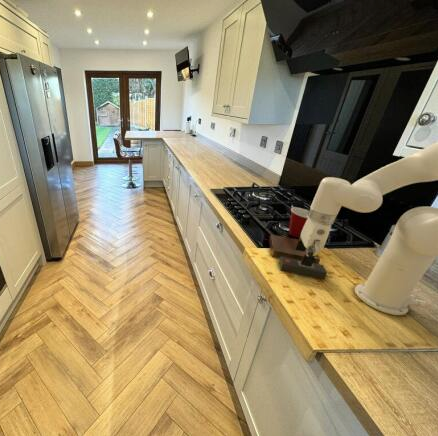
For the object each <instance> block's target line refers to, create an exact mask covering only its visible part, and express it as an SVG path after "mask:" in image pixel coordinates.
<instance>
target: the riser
mask: <svg viewBox="0 0 438 436" xmlns="http://www.w3.org/2000/svg"><path fill="white" fill-rule="evenodd" d="M298 241H299V238H298V239H297V238H294V237H293V238H292V237H287V236H281V235H277V234H276V235H275V234H270V235H269V237H268V245H269V249H270V253H271V257H273V258H277V259H280V257H286V258H291V259H296V260H301V261H302V259H303V257H304V254H305V255H306V250H307V248H306V250H305V251H304V252H303V251H299V250H296V249H295V248H296V246H297V243H298ZM310 247H311V248H314V247H312V246H310ZM313 251H314V250H310V251H309V253H310V252H313ZM320 262H321V258H320V256H319V255H318V256H317V257H316V258H315V260H314V262H313V263H315V264H320Z"/></svg>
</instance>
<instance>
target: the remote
mask: <svg viewBox="0 0 438 436" xmlns="http://www.w3.org/2000/svg"><path fill="white" fill-rule="evenodd" d="M278 265H279V270H280V271H282V272H286V273H291V274H295V275H300V276H305V277H310V278H313V279H318V280H324V281H325V278H326V277H327V275H328V272H327V270H326V268H325V266H324V264H320V263H319V264H315V263H313V264H312V266H311V267H309V266H304V265H301V260H296V259H291V258H286V257H280V258H279V260H278Z"/></svg>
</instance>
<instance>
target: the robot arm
mask: <svg viewBox="0 0 438 436" xmlns="http://www.w3.org/2000/svg"><path fill="white" fill-rule="evenodd" d="M435 181H438V141H436V142H433V143H432V144H430V145H427V146H426V147H424V148H422V149H420V150H418V151H416V152H414V153H412V154H409V155H407V156H404V157H402V158H401V159H398V160H397V161H394V162H391V163H389V164H387V165H385V166H382V167H380V168H379V169H377V170H375V171H372V172H371V173H369V174H367V175H365V176H363V177H362V178H360V179H357V180H356V181H354V182H353V183H350V182H349V180H346V179H343V178H340V177H334V176H327V177H323V178H322V180H321V181H320V183H319V185H318V187H317V190H316V193H315V195H314V197H313V200H312V203H311V205H310V207H309V209H308V211H309V212H308V214H307V218H308V219H307V221H306V223H305V225H304V227H303V229H302V232H301V237H298V240H299V241H298V243H297V246H296V248H295V249H296V250H299V251H303V252H304V251H305V250H306V248H307V250H306V255H305V254H304V257H303V259H302V261H301V265H304V266H309V267H311V266H312V264H313V262H314V260H315V258H316V257H317V256H319V255H320V253H321V252H322V251H323V250H324V248H325V245H326V243H327V240H328V238H329V235H330V232H331V229H332V225H334V223H335V220H336V219H337V216H338V214H339V212H340V211H341V208H342V207H343V208H346V209H349V210H351V211H354V212H357V213H372V212H375V211H376V210H378V209H379V208H380V207H381V206H382V205H383V201H384V200H383V196H384V195H386V194H388V193H391V192H393V191H395V190H397V189H400V188H403V187H405V186H409V185H412V184H413V185H414V184H417V183H428V182H435ZM310 246H312V247H314V248H311V247H310ZM310 250H314V251H313V252H310V253H309V251H310ZM436 258H438V207H434V206H423V205H422V206H416V207H414V208H411V209H408V210H406V211H405V212H404V213H403V214H402V215H401V216H400V217H399V219H398V220H397V222H396V224H395V227H394V230H393V231H392V234H391V236H390V238H389V240H388V242H387V244H386V246H385V248H384V249H383V251H382V253H381V254H380V257H379V259H378V260H377V262H376V264H375V265H374V267H373V268H372V270H371V272H370V274H369V276H368V278H367V279H366V281H365V283H359V284H357V285H355V288H354V293H355V295H356V296H357V297H358V299H360V300H361V301H362V302H363V303H365V304H366V305H367V306H369V307H371V308H373V309H375V310H377V311H380V312H382V313H385V314H388V315H393V316H404V315H406V314H407V313H408V312H409V309H410V308H409V306H415V307H420V308H426V307H427V306H428V305H427V304H428V303H427V301H425V300H421V299H417V298H416V296H415V295H414V294H412V293H413V291H414V290H415V288H416V287H417V286H418V284H419V282H420V281H421V279H422V278H423V277H424V275H425V274H426V272H427V271H428V270H429V268H430V267H431V265H432V264H433V262H434V260H435V259H436Z"/></svg>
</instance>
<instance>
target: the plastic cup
mask: <svg viewBox="0 0 438 436" xmlns="http://www.w3.org/2000/svg"><path fill="white" fill-rule="evenodd" d="M308 212H309V209H305V208H301V207H291V208H290V220H289V228H288V234H289V236H292V237H293V238H300V237H301V232H302V229H303V227H304V225H305V223H306V221H307V219H308V218H307V214H308Z"/></svg>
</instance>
